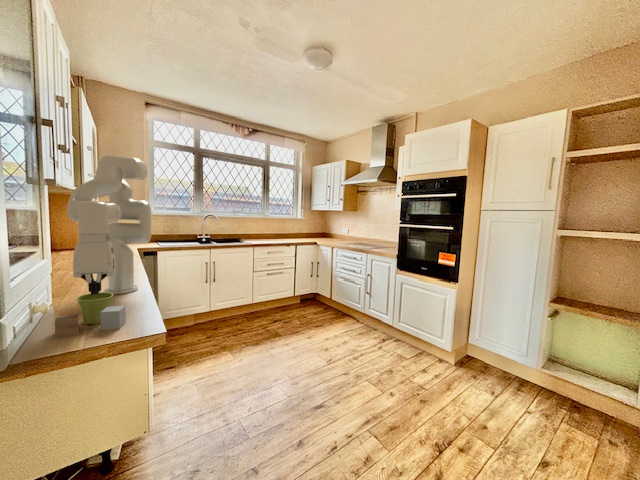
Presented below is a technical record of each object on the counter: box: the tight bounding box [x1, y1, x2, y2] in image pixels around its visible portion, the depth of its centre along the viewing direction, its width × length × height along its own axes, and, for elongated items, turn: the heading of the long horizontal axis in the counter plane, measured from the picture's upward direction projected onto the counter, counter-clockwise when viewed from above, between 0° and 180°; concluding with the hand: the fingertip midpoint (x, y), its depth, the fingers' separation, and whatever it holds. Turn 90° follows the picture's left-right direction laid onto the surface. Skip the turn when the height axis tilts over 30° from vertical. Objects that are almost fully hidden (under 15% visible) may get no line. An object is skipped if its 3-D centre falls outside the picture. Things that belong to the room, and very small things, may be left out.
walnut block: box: [54, 313, 80, 339], centre depth 79 cm, size 5×5×5 cm
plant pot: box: [75, 291, 114, 325], centre depth 89 cm, size 9×9×9 cm
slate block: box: [100, 305, 127, 331], centre depth 85 cm, size 5×5×6 cm
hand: (95, 293), depth 88 cm, fingers closed
